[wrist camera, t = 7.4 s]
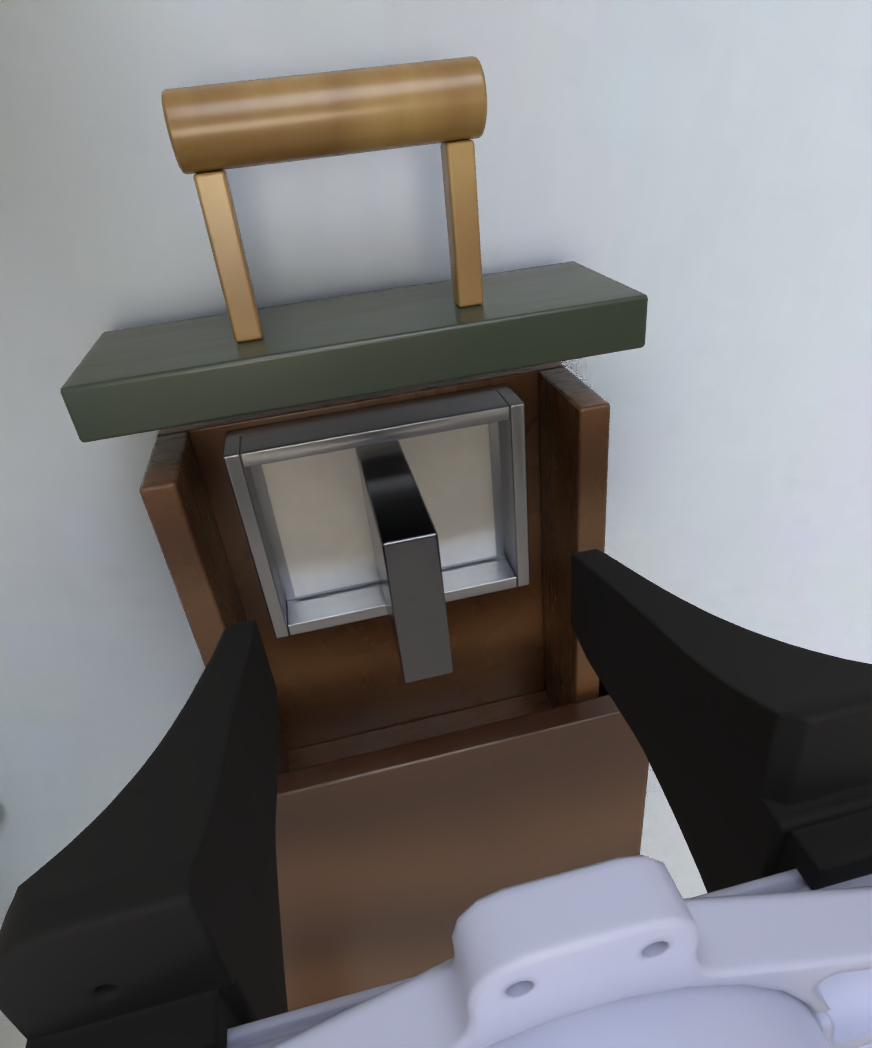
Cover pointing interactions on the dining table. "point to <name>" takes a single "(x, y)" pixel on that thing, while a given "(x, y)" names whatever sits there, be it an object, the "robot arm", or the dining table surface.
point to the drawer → (359, 382)
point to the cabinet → (443, 837)
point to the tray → (386, 515)
